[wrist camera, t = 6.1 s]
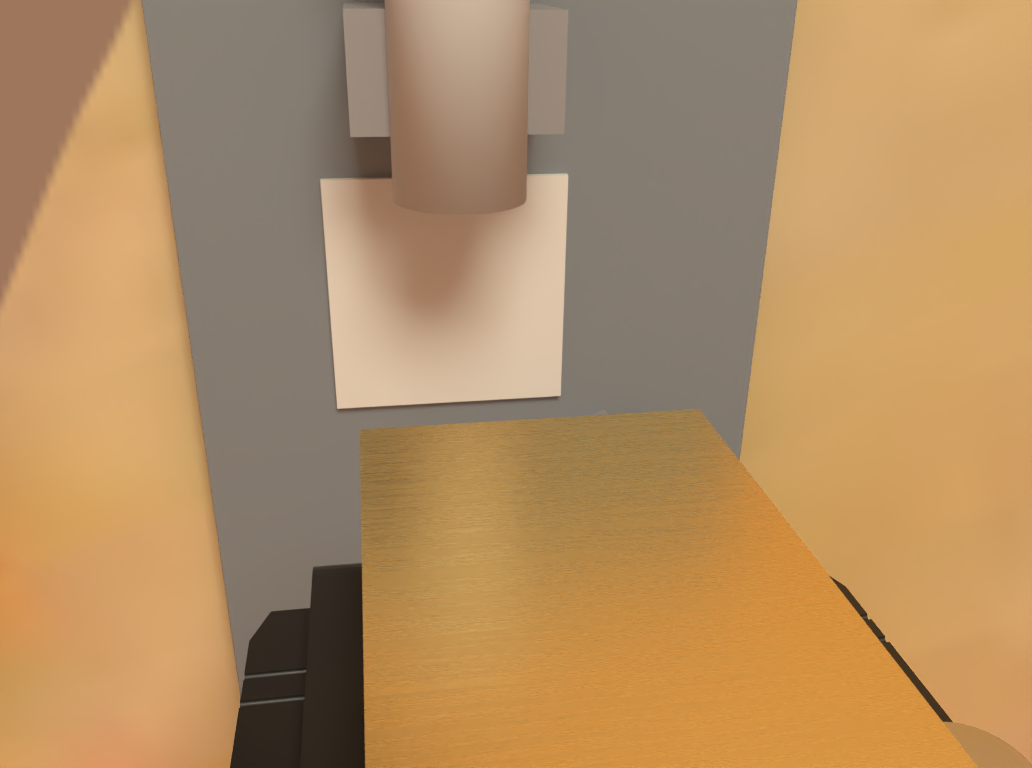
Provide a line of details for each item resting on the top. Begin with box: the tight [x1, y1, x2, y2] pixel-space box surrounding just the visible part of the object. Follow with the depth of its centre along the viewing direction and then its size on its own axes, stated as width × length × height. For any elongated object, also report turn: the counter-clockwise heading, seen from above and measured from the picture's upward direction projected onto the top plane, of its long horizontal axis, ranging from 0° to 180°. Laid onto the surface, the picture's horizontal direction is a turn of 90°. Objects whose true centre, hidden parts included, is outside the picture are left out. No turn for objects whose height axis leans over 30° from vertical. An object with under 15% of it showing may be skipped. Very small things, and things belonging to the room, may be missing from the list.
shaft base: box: [142, 0, 797, 696], centre depth 23 cm, size 16×30×6 cm, turn 179°
